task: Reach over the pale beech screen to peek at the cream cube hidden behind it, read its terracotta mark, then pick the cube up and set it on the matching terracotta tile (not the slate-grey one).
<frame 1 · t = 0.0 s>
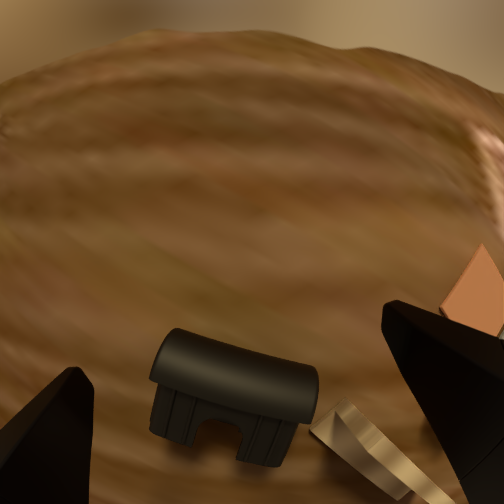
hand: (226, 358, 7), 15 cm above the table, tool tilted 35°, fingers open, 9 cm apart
beech screen: (386, 448, 20), on the table
terracotta tile: (481, 304, 22), on the table
end cap: (233, 381, 21), on the table
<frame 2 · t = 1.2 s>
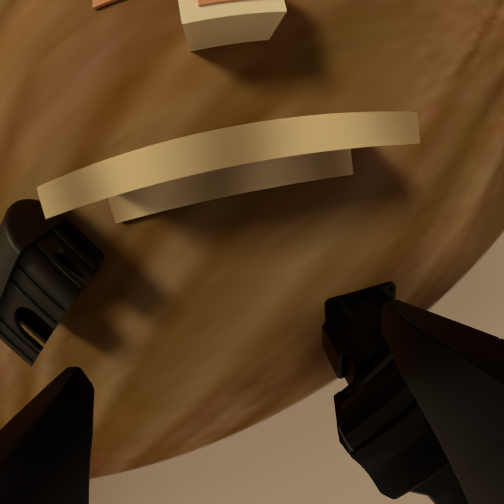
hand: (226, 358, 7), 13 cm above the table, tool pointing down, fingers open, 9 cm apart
beech screen: (224, 142, 17), on the table
marked cube: (223, 14, 13), on the table
end cap: (48, 262, 18), on the table
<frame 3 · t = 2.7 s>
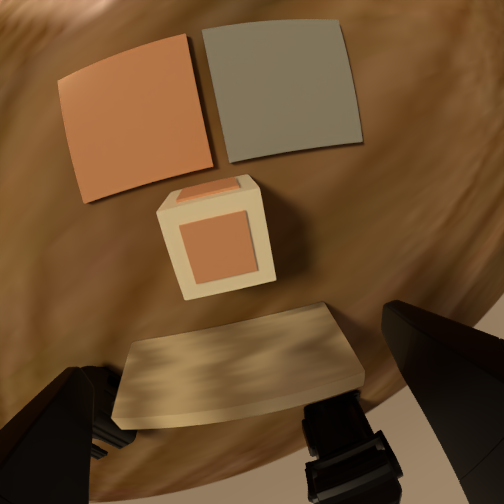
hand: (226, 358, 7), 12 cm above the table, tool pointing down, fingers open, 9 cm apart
slate tile: (286, 82, 16), on the table
beech screen: (226, 331, 22), on the table
terracotta tile: (129, 117, 15), on the table
marked cube: (217, 219, 19), on the table
end cap: (95, 388, 24), on the table
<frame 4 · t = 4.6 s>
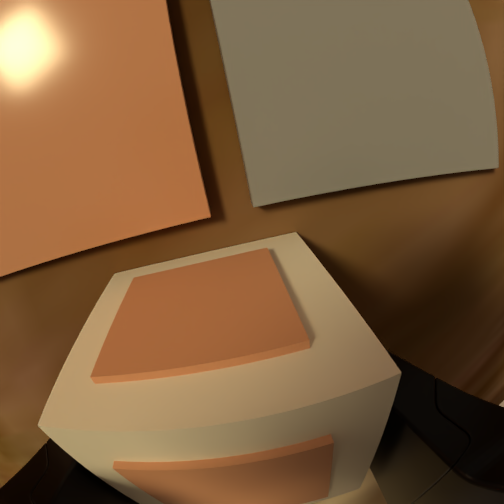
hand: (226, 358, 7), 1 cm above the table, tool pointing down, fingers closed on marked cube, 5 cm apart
slate tile: (381, 25, 5), on the table
beech screen: (240, 459, 12), on the table
terracotta tile: (21, 103, 5), on the table
marked cube: (223, 329, 8), on the table, touching gripper
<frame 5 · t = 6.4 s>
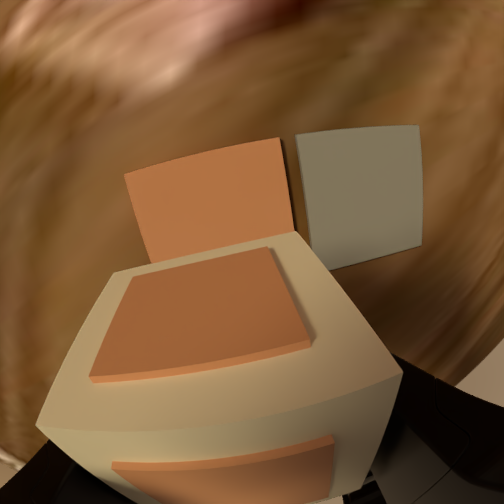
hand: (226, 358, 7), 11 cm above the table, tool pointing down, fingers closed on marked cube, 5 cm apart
slate tile: (368, 195, 18), on the table
terracotta tile: (216, 226, 17), on the table
marked cube: (223, 328, 8), point 10 cm above the table, touching gripper
when the fingers open (3 cm above the table, at t = 8.1 s): marked cube drops 2 cm, resting on terracotta tile.
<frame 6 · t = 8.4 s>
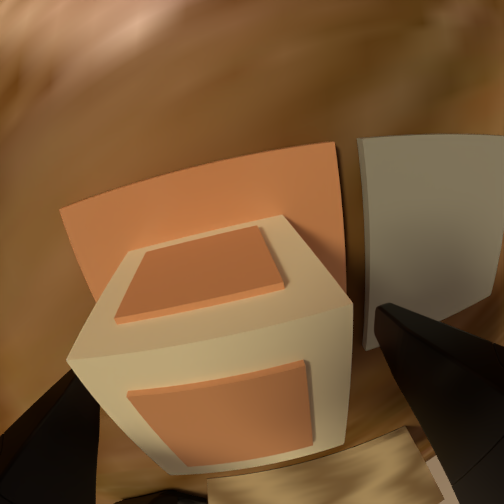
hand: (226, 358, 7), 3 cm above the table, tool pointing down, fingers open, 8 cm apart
slate tile: (448, 236, 10), on the table
beech screen: (310, 463, 17), on the table
terracotta tile: (220, 294, 10), on the table
marked cube: (221, 300, 10), resting on terracotta tile
end cap: (152, 495, 19), on the table
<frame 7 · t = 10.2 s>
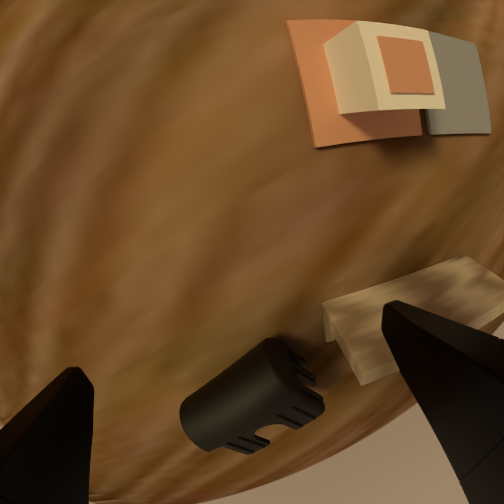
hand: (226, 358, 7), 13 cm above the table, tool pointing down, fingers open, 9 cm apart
slate tile: (455, 83, 16), on the table
beech screen: (403, 282, 23), on the table
terracotta tile: (361, 77, 16), on the table
marked cube: (364, 77, 15), resting on terracotta tile
end cap: (244, 370, 25), on the table
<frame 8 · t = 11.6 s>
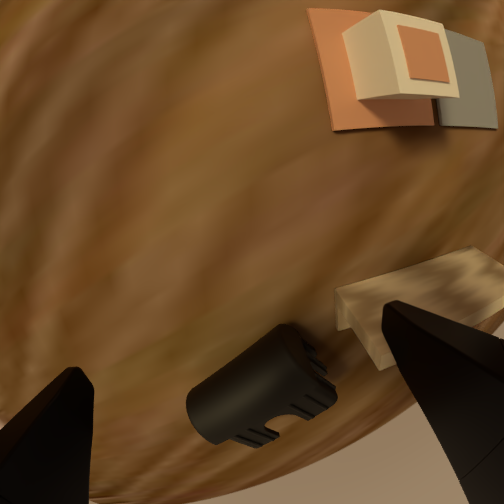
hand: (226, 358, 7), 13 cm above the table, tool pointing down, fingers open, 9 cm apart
slate tile: (464, 78, 16), on the table
beech screen: (414, 271, 22), on the table
terracotta tile: (377, 67, 15), on the table
marked cube: (380, 66, 15), resting on terracotta tile
end cap: (253, 359, 24), on the table
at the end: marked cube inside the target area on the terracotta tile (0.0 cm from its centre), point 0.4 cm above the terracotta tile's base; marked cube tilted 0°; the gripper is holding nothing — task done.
